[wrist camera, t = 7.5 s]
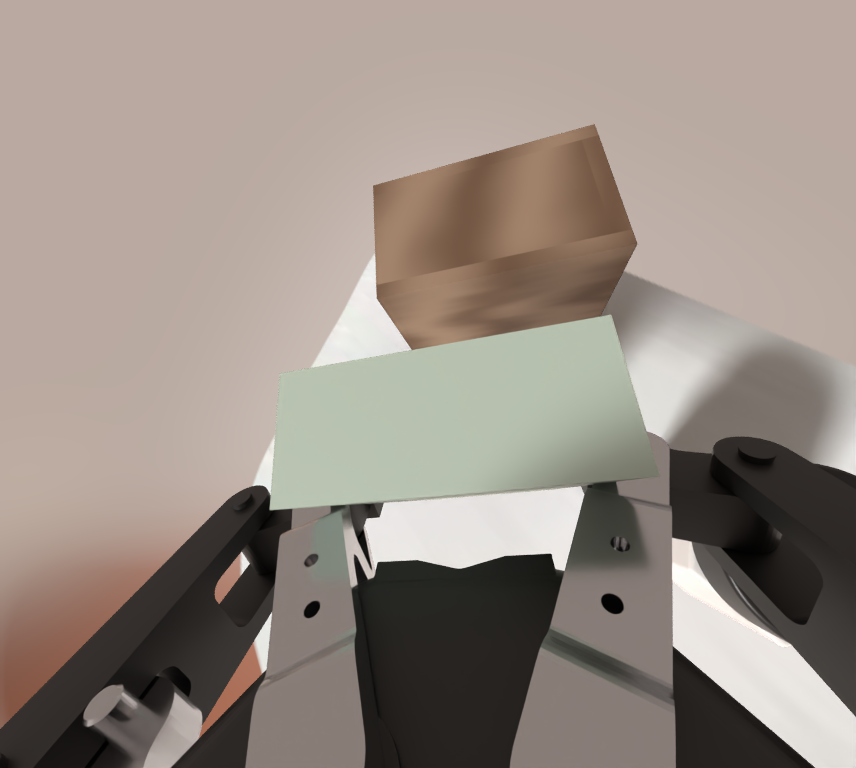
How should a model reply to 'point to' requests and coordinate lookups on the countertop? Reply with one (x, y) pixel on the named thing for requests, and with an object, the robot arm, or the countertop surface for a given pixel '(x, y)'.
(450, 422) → the sage green block
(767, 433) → the countertop surface
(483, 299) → the cabinet
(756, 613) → the jar
